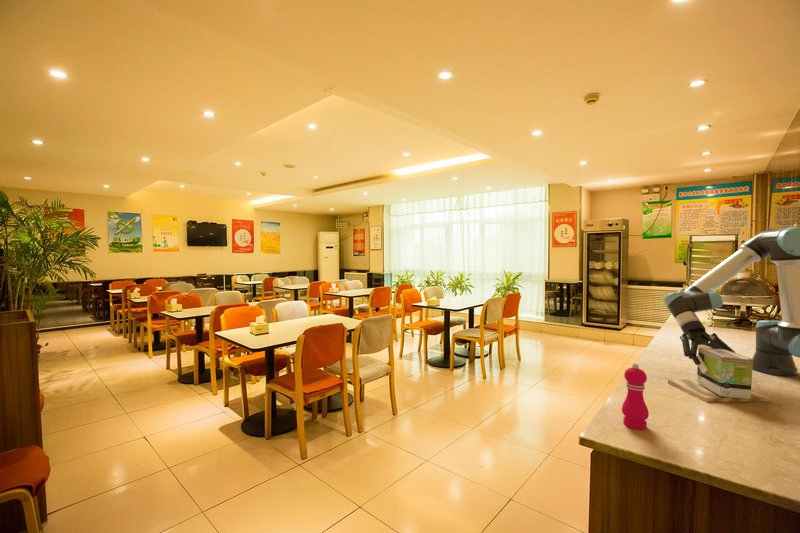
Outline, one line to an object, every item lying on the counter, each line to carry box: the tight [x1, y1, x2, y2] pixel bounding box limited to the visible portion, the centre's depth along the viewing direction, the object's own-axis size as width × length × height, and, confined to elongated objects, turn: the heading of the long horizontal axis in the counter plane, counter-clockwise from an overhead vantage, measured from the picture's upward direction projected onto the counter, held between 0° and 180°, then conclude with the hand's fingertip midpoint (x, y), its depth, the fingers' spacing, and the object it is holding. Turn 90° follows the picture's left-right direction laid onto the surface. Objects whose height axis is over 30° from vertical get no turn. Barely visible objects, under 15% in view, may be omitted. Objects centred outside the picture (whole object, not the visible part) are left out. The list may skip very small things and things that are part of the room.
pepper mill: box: [621, 362, 650, 431], centre depth 115 cm, size 7×7×20 cm
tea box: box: [696, 348, 753, 399], centre depth 138 cm, size 15×10×15 cm
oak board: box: [667, 378, 771, 403], centre depth 141 cm, size 23×19×2 cm
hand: (721, 372), depth 139 cm, fingers open, 11 cm apart
